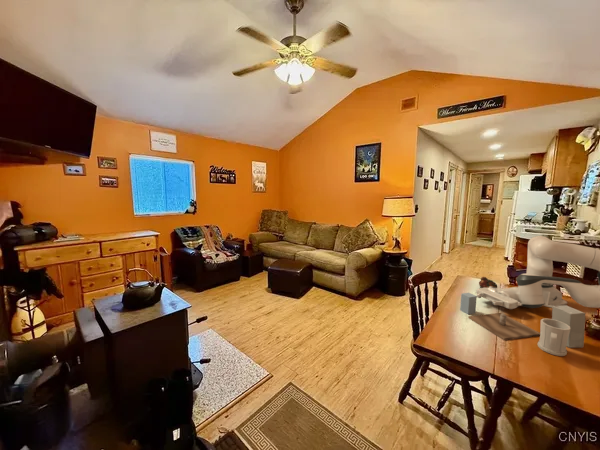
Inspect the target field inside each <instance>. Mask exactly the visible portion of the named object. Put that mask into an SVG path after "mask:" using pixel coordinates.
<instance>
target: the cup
mask: <svg viewBox="0 0 600 450" xmlns="http://www.w3.org/2000/svg"><path fill="white" fill-rule="evenodd" d="M570 329H571V328H570V326H568V325H567V324H565V323H563V322H560V321H557V320H553V319H552V318H542V319H540V332H539V333H540V336H539V340H538V341H537V347H538V348H539V349H540V350H542V351H543V352H544V353H547V354H549V355H552V356H558V357H564V356H567V353H568V351H567V346H566V345H567V340H568V336H569V332H570Z"/></svg>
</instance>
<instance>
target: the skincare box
mask: <svg viewBox="0 0 600 450" xmlns="http://www.w3.org/2000/svg"><path fill="white" fill-rule="evenodd" d="M551 316H552V317H551V319H553V320H557V321H560V322H563V323H565V324H567V325H568V326H570V328H571V329H570V332H569V336H568V340H567V345H566V348H571V349H572V348H573V349H574V348H584V345H585V344H584V343H585V328H586V327H585V326H586V313H585V312H583V311H580V310H579V309H576V308H573V307H572V306H568V305H567V304H565V305H561V306H553V308H552V312H551Z"/></svg>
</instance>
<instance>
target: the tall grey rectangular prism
mask: <svg viewBox="0 0 600 450" xmlns="http://www.w3.org/2000/svg"><path fill="white" fill-rule="evenodd" d="M460 295H461V296H460V307H459V310H460V311H461V312H463V313H464V314H466V315H472V314H476V308H477V299H478V297H477V295H475V294H472V293H470V292H463V293H461V294H460Z"/></svg>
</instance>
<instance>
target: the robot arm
mask: <svg viewBox="0 0 600 450" xmlns="http://www.w3.org/2000/svg"><path fill="white" fill-rule="evenodd" d="M526 261H527V265H526V271H525V272H526V273H521V274H519V275H518V276H517V277H516V279H515V280H516V284H517V286H513V287H507V288H506V287H505V288H504V287H502V288H501V287H498V286H497V287H492V286H490V287H489V288H480V287H479V288H477V289H476V296H477V299H481V298H482V299H483V298H484V299H486V300H487V301H490V302H492V303H491V304H492V305H494V306H501V307H504V308H506V309H509V310H513V309H517V308H518V307H524V308H527V309H537V308H541V307H548V308H552V309H553V306H563V305H567V304H568V301H567V300H565V299H563V293H562V291H560V290H559V289H557V288H556V287H555V286H554V285H557V286H561V287H562V288H563V289H565V291H566V292H567V293H568V295H569V296H570V297H571V299H572V300H573V301H575V302H576V303H577V304H579V305H580V306H583V307H585V308H593V309H594V308H596V309H597V308H600V249H599V248H596V247H590V246H585V245H581V244H576V243H569V242H567V243H566V242H561V241H556V240H551V239H550V238H548V237H546V236H544V235H538V236H537V235H536V236H533V237H531V238H530V239H529V240H528V242H527V260H526ZM553 261H554V262H563V263H567V264H572V265H577V266H580V267H583V268H589V269H593V270H596V271H598V272H597V273H596V275H597V283H598V285H597V284H595V285H593V284H591V285H590V284H584V283H583V282H581V281H580V280H577V279H574V278H568V277H559V276H558V277H557V276H553V270H554V265H553V264H554V263H553Z"/></svg>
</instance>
